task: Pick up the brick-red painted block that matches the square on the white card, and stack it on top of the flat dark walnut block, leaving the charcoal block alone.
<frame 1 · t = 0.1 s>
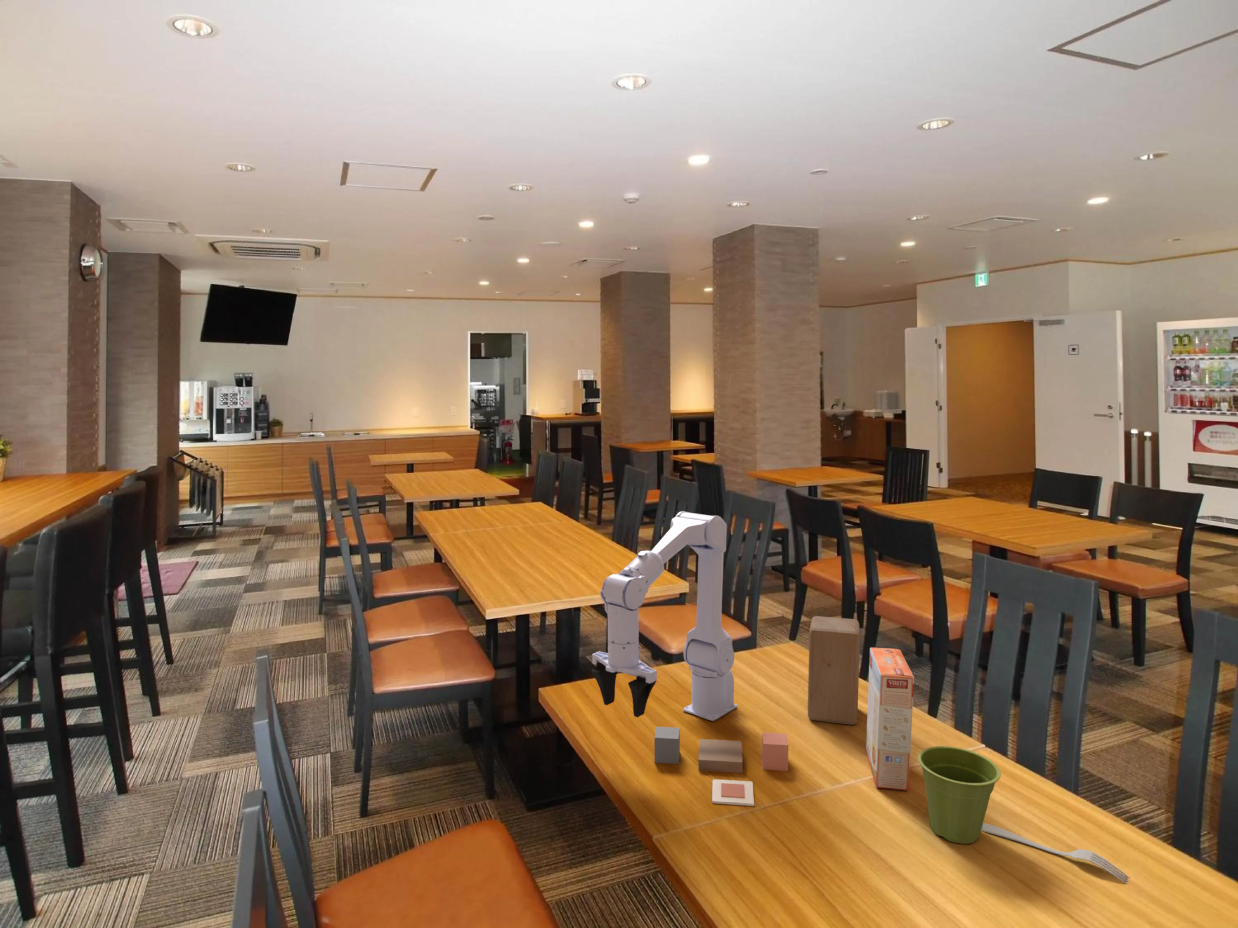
hand: (623, 708, 141), 10 cm above the table, tool pointing down, fingers open, 7 cm apart
wooden block: (832, 714, 160), on the table
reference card: (732, 793, 130), on the table
plant pot: (955, 832, 119), on the table
charcoal block: (667, 757, 143), on the table
brick red block: (774, 763, 140), on the table
fork: (1050, 855, 114), on the table
cracker box: (886, 771, 137), on the table
walnut base block: (720, 762, 142), on the table
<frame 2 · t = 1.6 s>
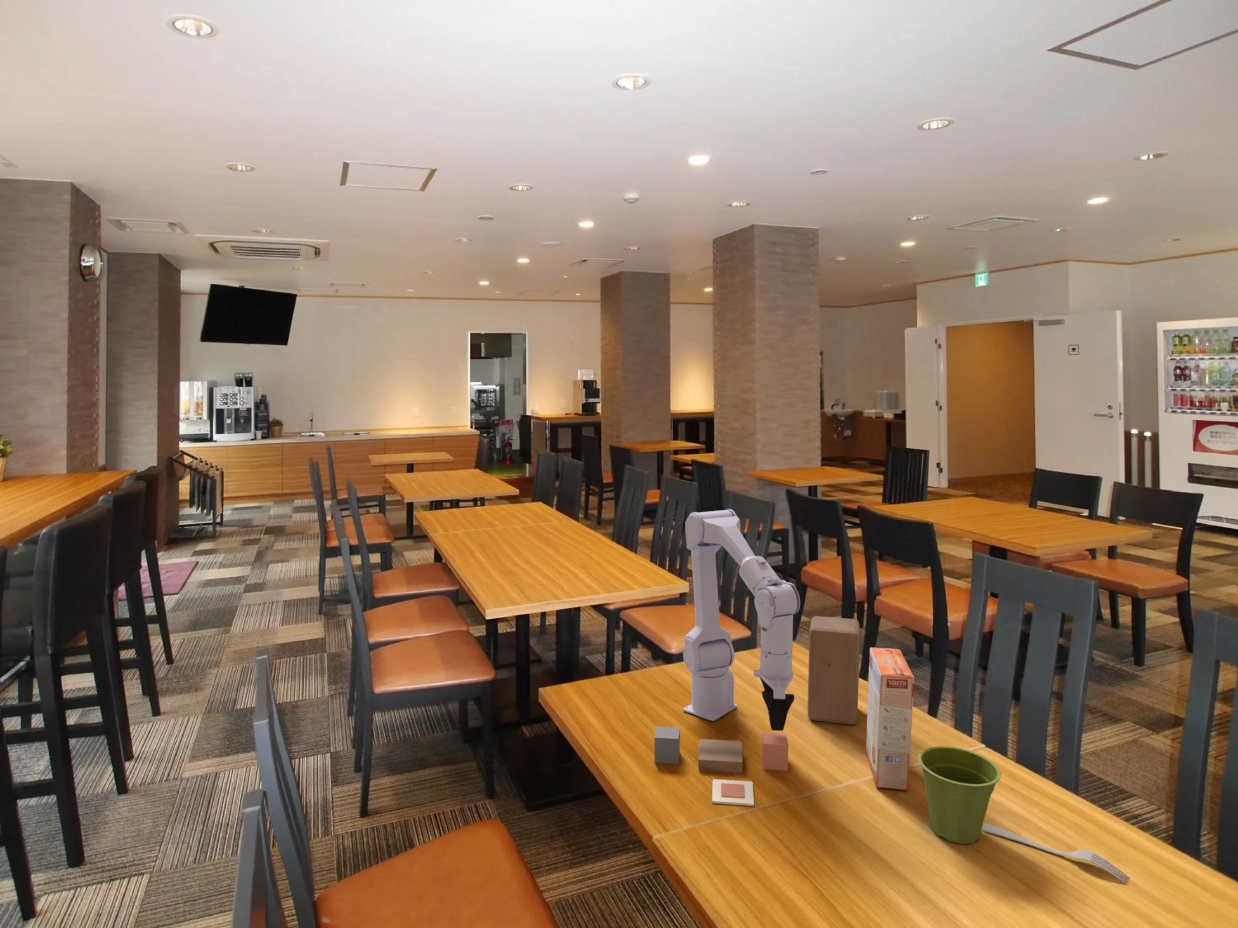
hand: (775, 720, 139), 9 cm above the table, tool pointing down, fingers open, 7 cm apart
nothing on the table moved.
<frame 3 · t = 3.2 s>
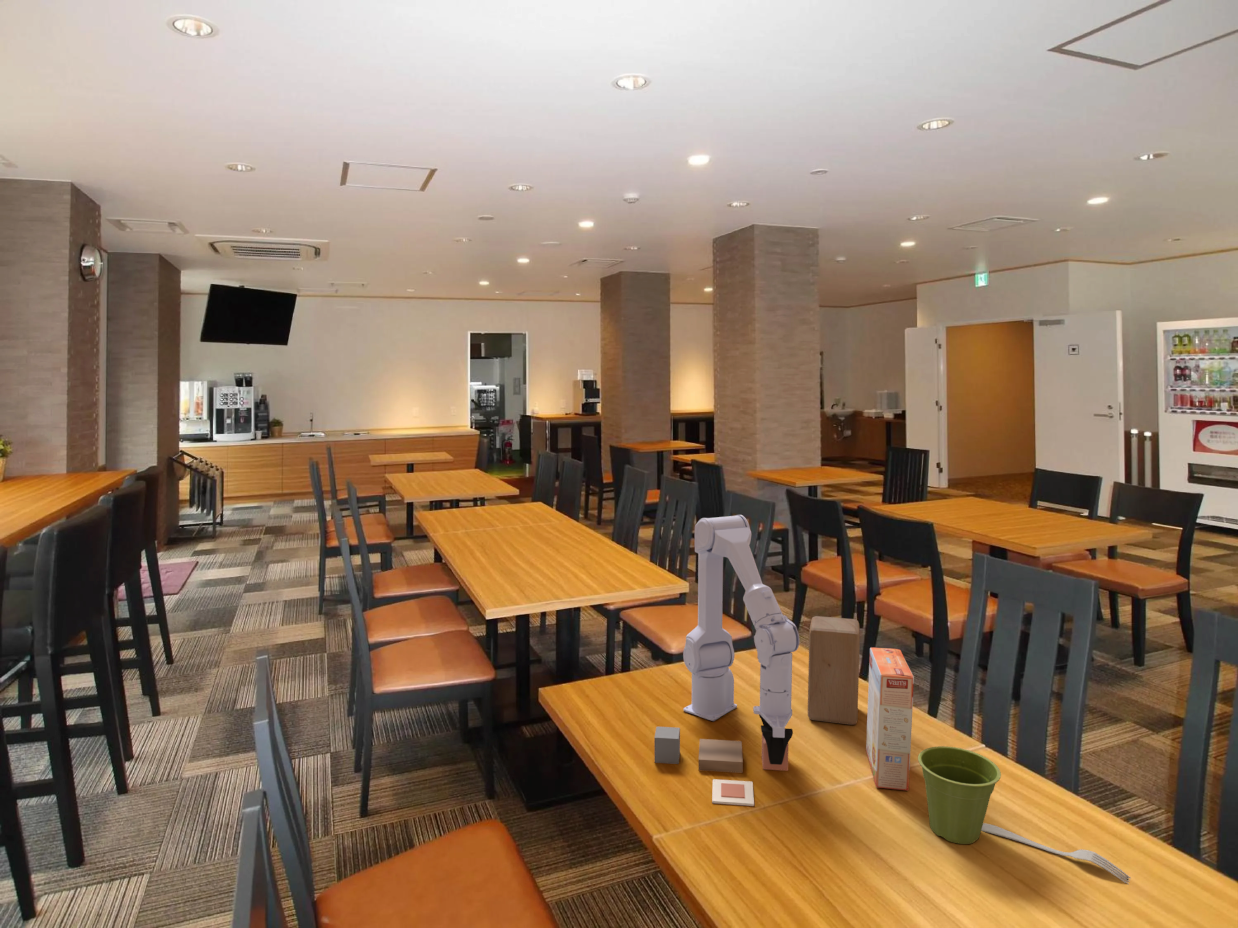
hand: (774, 756, 140), 1 cm above the table, tool pointing down, fingers closed on brick red block, 4 cm apart
brick red block: (774, 763, 140), on the table, touching gripper
everything else where it was.
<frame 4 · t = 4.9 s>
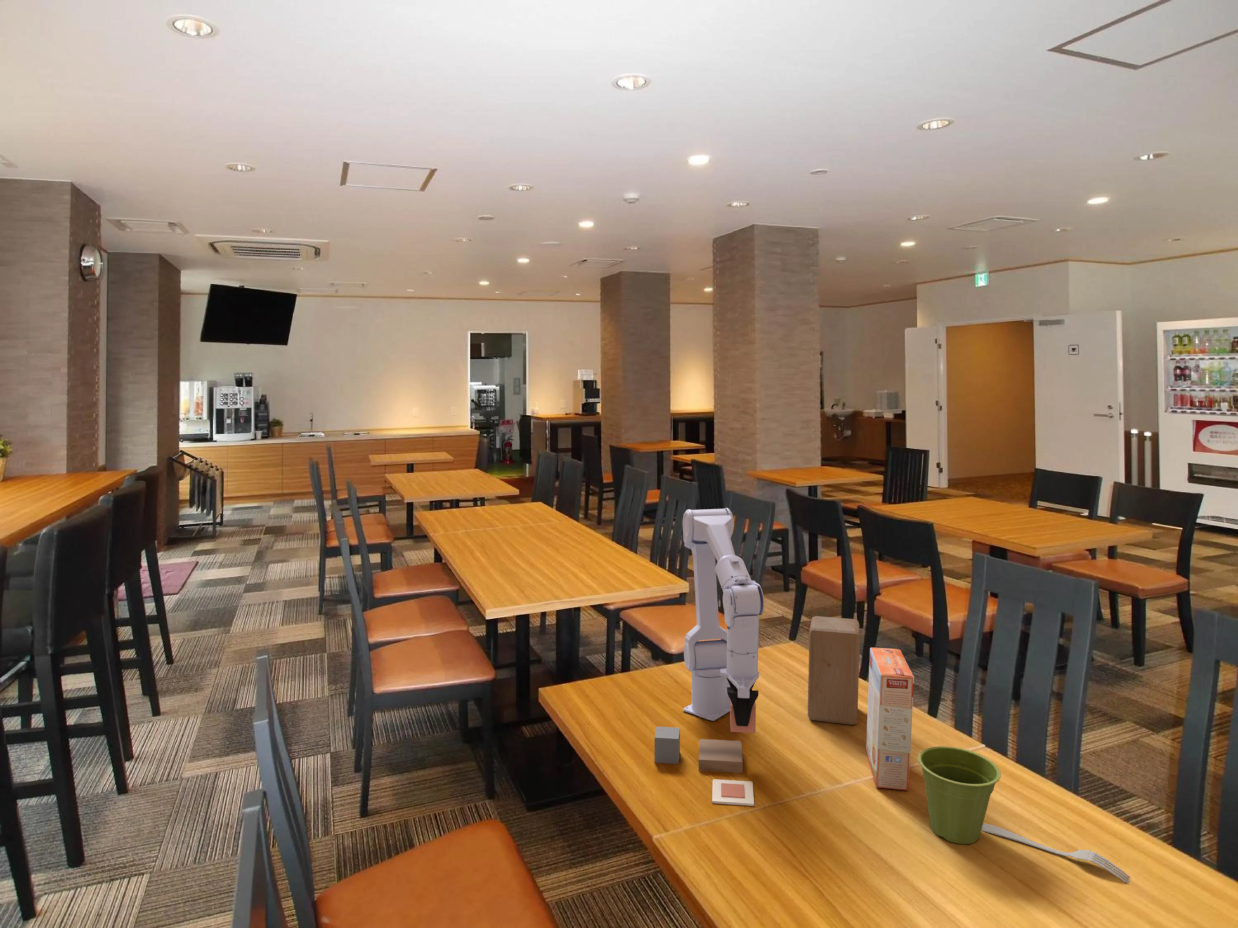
hand: (741, 718, 140), 8 cm above the table, tool pointing down, fingers closed on brick red block, 4 cm apart
brick red block: (742, 726, 140), point 7 cm above the table, touching gripper
everything else where it was.
when the fingers open (5 cm above the table, at t = 6.8 s): brick red block drops 1 cm, point 2 cm above the table.
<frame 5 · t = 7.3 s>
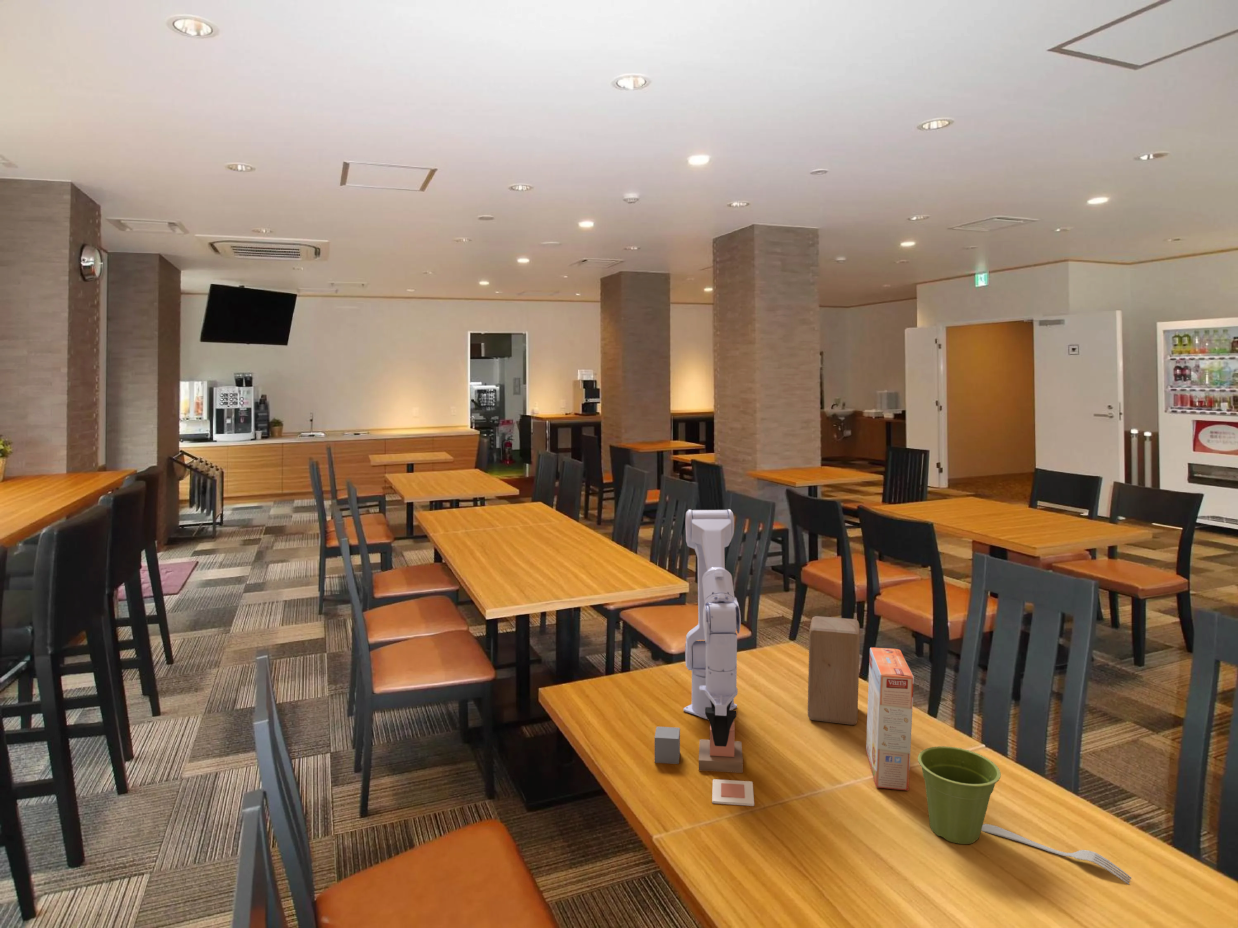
hand: (720, 735, 141), 5 cm above the table, tool pointing down, fingers open, 7 cm apart
brick red block: (721, 750, 141), point 2 cm above the table
everything else where it was.
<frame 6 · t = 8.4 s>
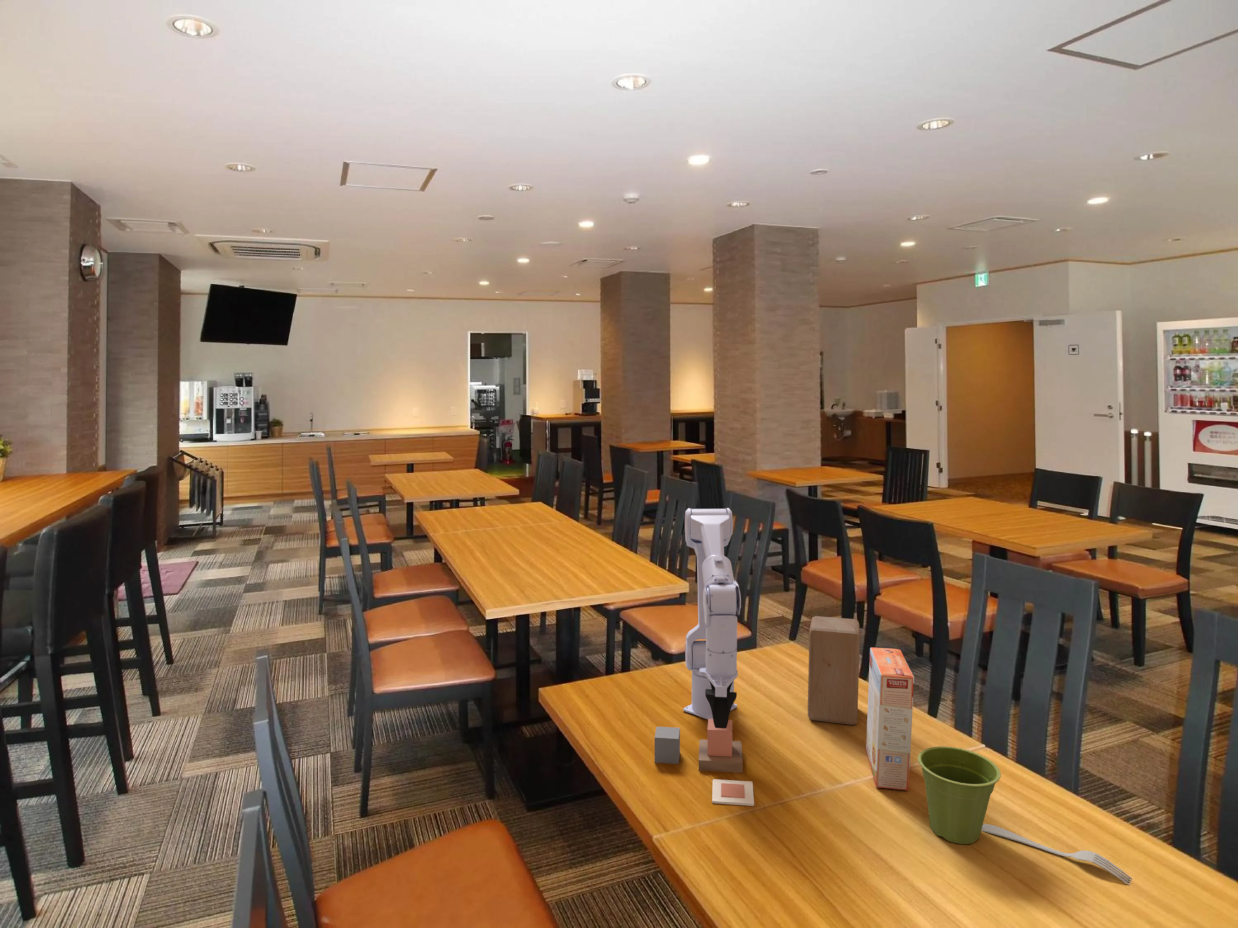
hand: (720, 717, 141), 8 cm above the table, tool pointing down, fingers open, 7 cm apart
brick red block: (720, 750, 141), point 2 cm above the table, touching walnut base block
walnut base block: (720, 762, 142), on the table, touching brick red block
everything else where it was.
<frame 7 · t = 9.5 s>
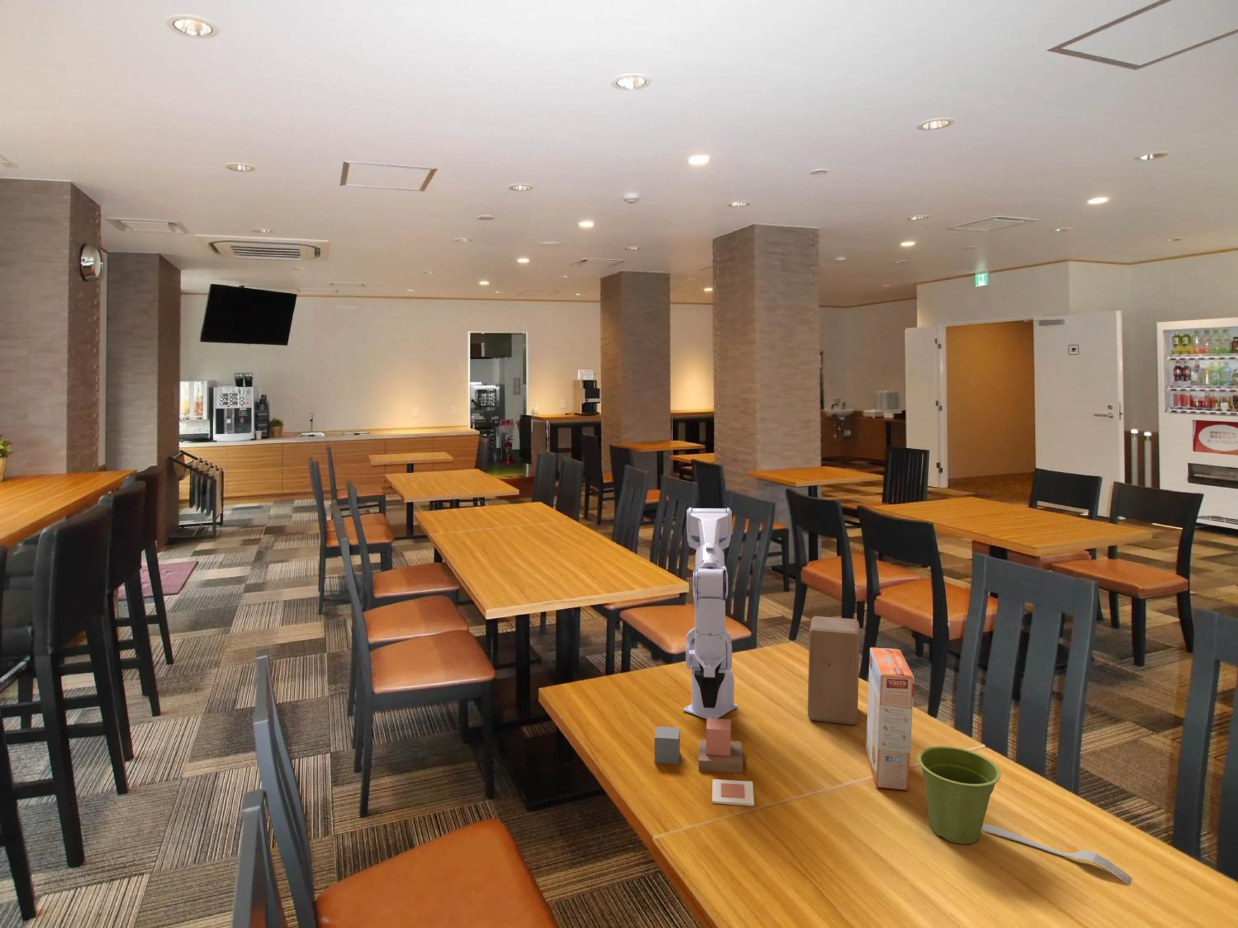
hand: (709, 698, 145), 10 cm above the table, tool pointing down, fingers open, 7 cm apart
brick red block: (718, 749, 142), point 2 cm above the table
walnut base block: (720, 763, 142), on the table
everything else where it was.
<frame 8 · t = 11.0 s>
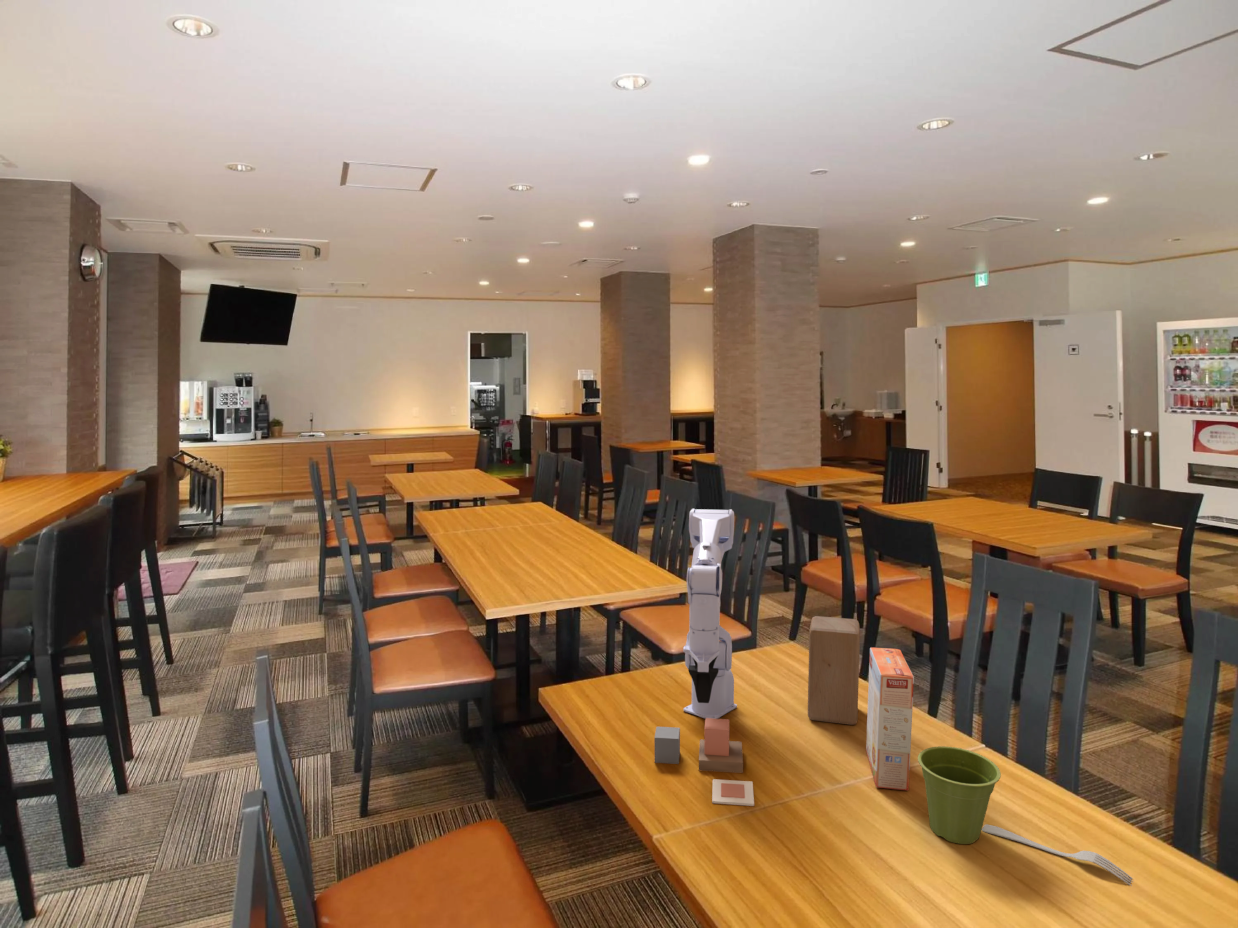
hand: (703, 693, 146), 10 cm above the table, tool pointing down, fingers open, 7 cm apart
brick red block: (716, 749, 142), point 2 cm above the table, touching walnut base block
walnut base block: (720, 763, 141), on the table, touching brick red block
everything else where it was.
at the end: brick red block 0.9 cm off-centre on the walnut base block, point 2.5 cm above the walnut base block's base; brick red block tilted 0°; brick red block touching walnut base block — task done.
